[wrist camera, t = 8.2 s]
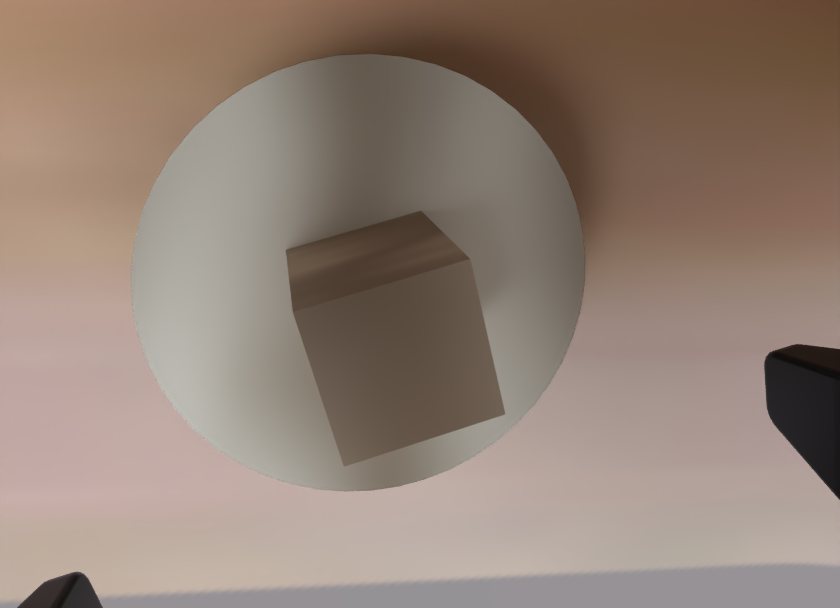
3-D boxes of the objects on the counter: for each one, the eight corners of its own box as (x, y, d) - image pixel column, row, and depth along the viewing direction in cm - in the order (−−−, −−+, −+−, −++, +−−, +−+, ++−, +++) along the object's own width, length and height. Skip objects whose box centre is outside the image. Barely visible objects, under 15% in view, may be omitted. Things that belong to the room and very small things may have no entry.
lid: (534, 1, 15) (640, -21, 11) (602, 406, 19) (702, 508, 15) (57, 125, 14) (-32, 156, 10) (226, 530, 18) (214, 679, 13)
